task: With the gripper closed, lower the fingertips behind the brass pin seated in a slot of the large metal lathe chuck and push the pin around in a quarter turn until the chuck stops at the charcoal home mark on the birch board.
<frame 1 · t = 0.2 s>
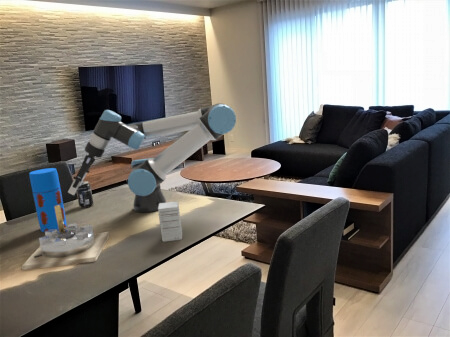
hand: (74, 189, 177), 16 cm above the table, tool tilted 35°, fingers open, 13 cm apart
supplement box: (172, 237, 156), on the table
thermos: (53, 228, 180), on the table
beverage can: (86, 206, 209), on the table
metal lathe chuck: (65, 228, 150), point 9 cm above the table, hinge at 0.0°
birch base board: (69, 251, 152), on the table
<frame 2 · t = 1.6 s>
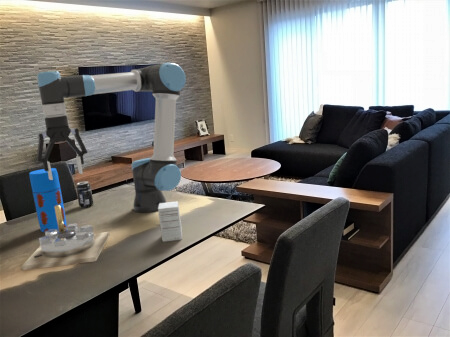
hand: (66, 176, 155), 26 cm above the table, tool pointing down, fingers open, 10 cm apart
nothing on the table moved.
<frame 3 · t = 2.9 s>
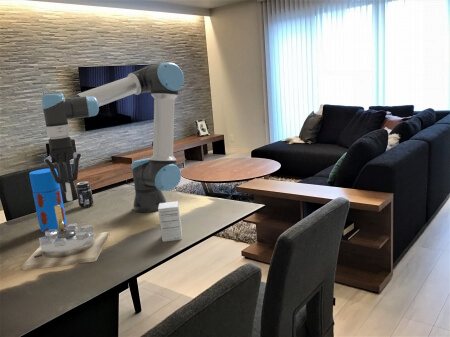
hand: (69, 200, 156), 17 cm above the table, tool pointing down, fingers closed
nothing on the table moved.
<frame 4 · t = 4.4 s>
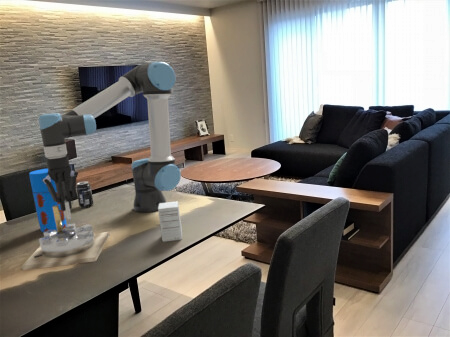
hand: (68, 218, 157), 10 cm above the table, tool pointing down, fingers closed
metal lathe chuck: (65, 228, 150), point 9 cm above the table, hinge at 5.1°, touching gripper
everything else where it was.
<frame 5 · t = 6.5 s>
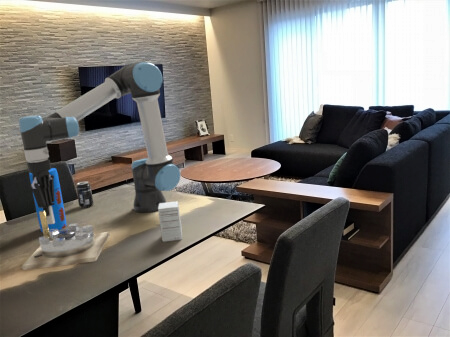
hand: (50, 223, 153), 10 cm above the table, tool pointing down, fingers closed
metal lathe chuck: (65, 228, 150), point 9 cm above the table, hinge at 57.2°, touching gripper
everything else where it was.
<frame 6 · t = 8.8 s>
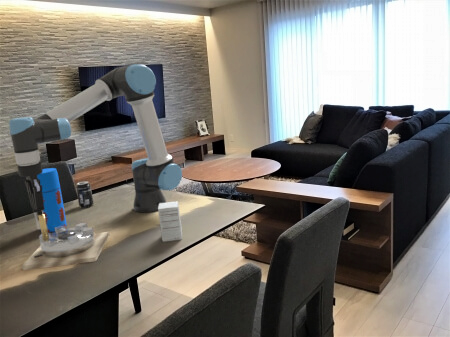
hand: (41, 228, 149), 10 cm above the table, tool pointing down, fingers closed
metal lathe chuck: (65, 228, 150), point 9 cm above the table, hinge at 92.5°, touching gripper
everything else where it was.
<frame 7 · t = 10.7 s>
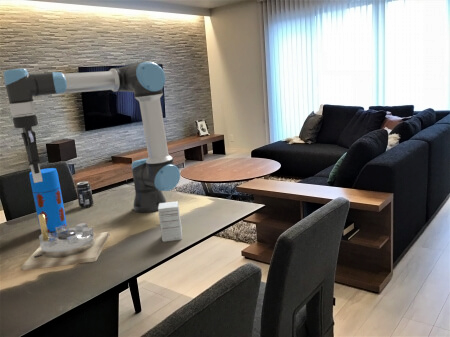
hand: (38, 181, 149), 26 cm above the table, tool pointing down, fingers closed
metal lathe chuck: (65, 228, 150), point 9 cm above the table, hinge at 90.9°
everything else where it was.
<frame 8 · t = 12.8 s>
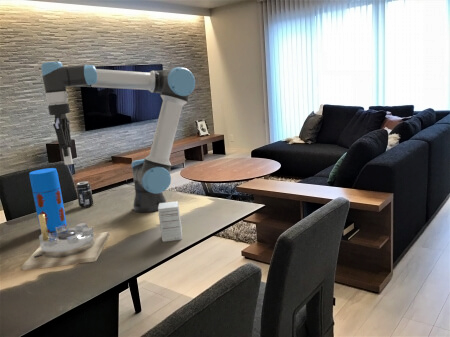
hand: (68, 164, 165), 28 cm above the table, tool pointing down, fingers closed
nothing on the table moved.
at the end: metal lathe chuck at +91° (first picture: +0°) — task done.
